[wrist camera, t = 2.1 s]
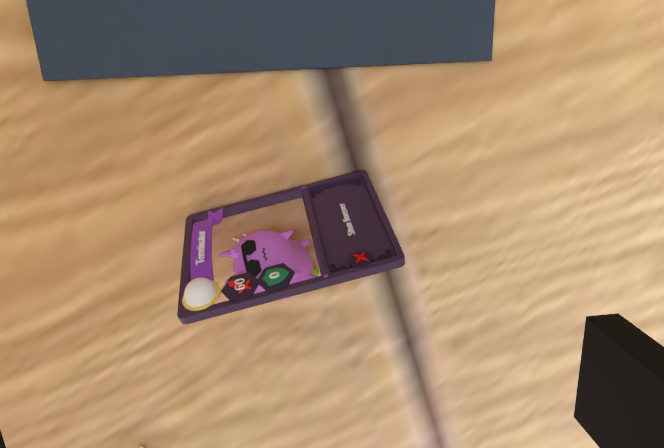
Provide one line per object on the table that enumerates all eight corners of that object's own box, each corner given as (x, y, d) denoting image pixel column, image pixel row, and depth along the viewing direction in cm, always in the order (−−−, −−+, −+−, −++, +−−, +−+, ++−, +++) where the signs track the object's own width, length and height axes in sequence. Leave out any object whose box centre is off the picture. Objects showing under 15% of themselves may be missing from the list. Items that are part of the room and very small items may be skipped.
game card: (403, 244, 18) (169, 306, 18) (415, 331, 22) (215, 385, 21) (362, 156, 24) (180, 204, 24) (376, 237, 27) (216, 279, 27)
